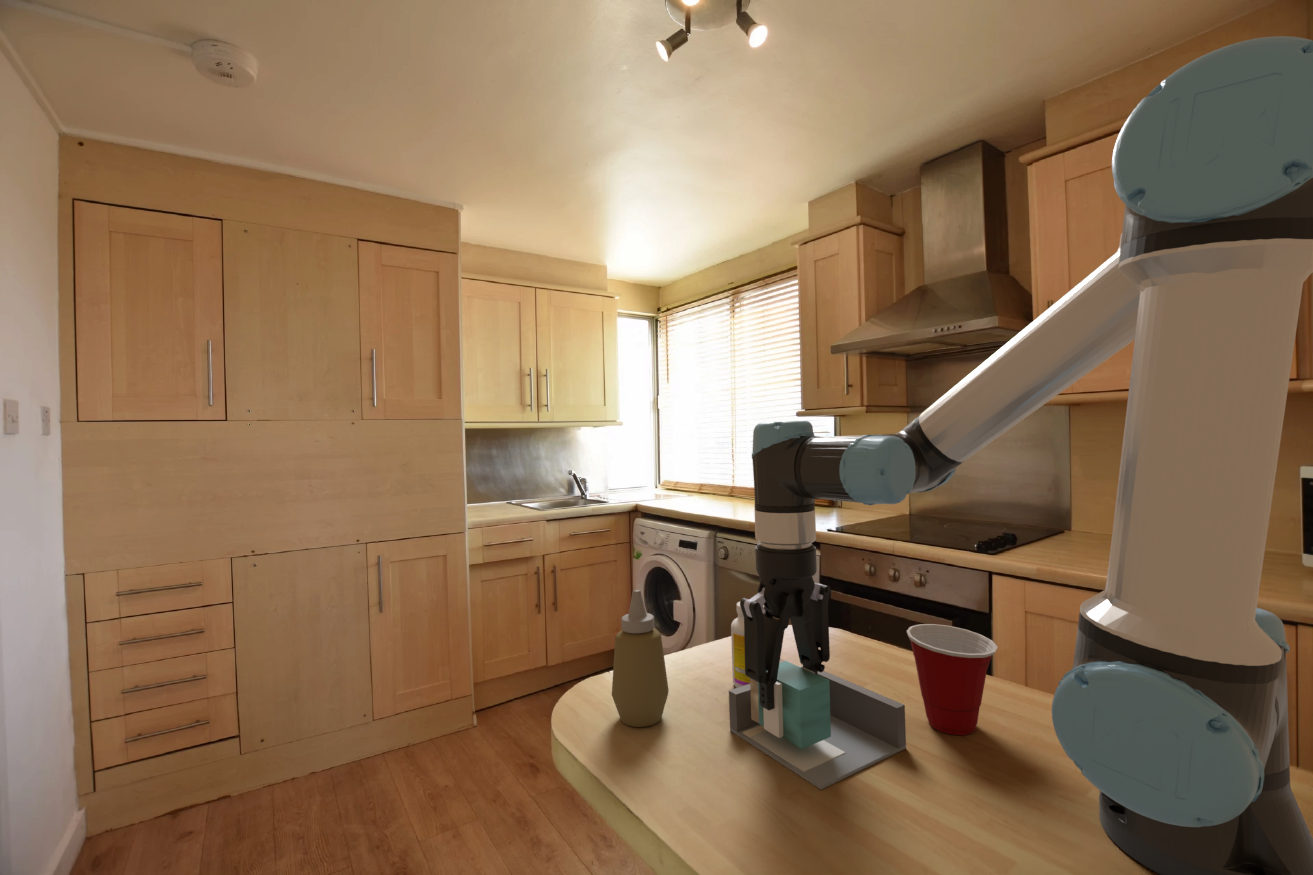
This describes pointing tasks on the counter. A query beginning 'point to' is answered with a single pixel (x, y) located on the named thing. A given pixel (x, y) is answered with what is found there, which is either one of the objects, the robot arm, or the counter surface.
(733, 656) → the supplement bottle
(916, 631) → the plastic cup
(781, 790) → the counter surface
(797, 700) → the teal block
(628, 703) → the squeeze bottle
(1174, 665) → the robot arm
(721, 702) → the counter surface
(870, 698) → the corner tray
